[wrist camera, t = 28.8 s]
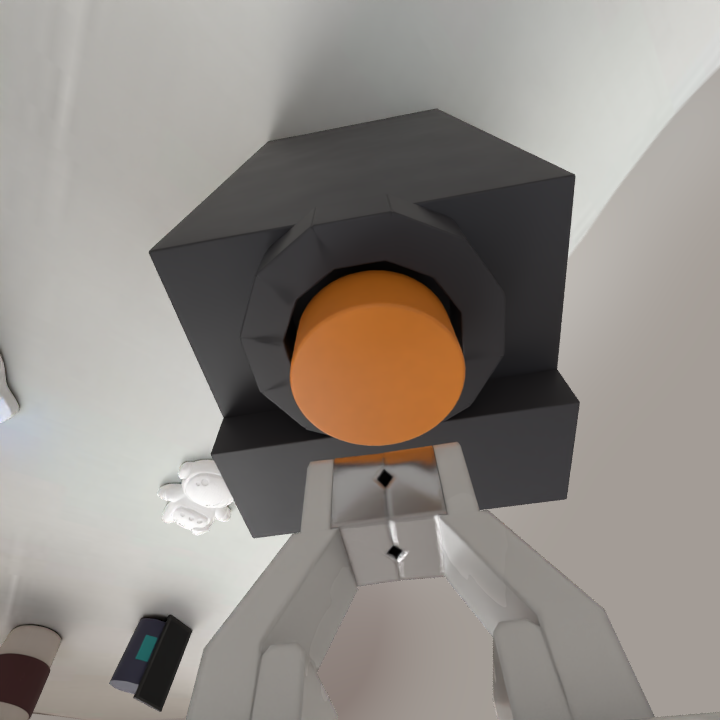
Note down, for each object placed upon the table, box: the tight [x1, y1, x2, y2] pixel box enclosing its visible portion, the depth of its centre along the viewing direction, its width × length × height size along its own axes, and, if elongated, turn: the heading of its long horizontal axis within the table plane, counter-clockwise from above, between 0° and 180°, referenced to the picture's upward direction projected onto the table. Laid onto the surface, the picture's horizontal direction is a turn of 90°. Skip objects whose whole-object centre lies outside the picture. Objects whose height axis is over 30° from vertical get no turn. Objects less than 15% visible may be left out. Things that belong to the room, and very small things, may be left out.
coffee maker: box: [211, 369, 580, 538], centre depth 25 cm, size 15×12×24 cm
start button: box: [290, 270, 466, 446], centre depth 12 cm, size 4×4×2 cm
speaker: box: [109, 615, 192, 712], centre depth 64 cm, size 8×6×10 cm
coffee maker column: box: [149, 109, 575, 435], centre depth 22 cm, size 7×12×24 cm, turn 100°
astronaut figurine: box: [157, 460, 234, 535], centre depth 50 cm, size 9×12×3 cm
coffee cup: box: [0, 625, 61, 720], centre depth 63 cm, size 10×10×15 cm
